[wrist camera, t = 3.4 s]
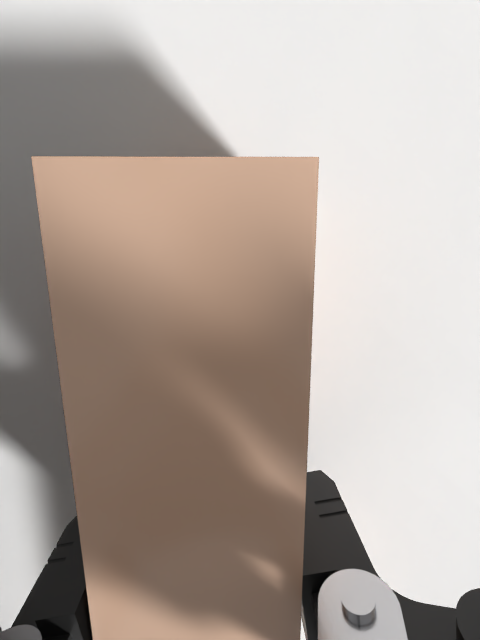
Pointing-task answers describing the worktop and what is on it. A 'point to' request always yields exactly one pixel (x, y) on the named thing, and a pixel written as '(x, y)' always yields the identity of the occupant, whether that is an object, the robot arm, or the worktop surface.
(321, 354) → the worktop surface
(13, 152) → the worktop surface
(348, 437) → the worktop surface
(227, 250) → the tan rectangular block
